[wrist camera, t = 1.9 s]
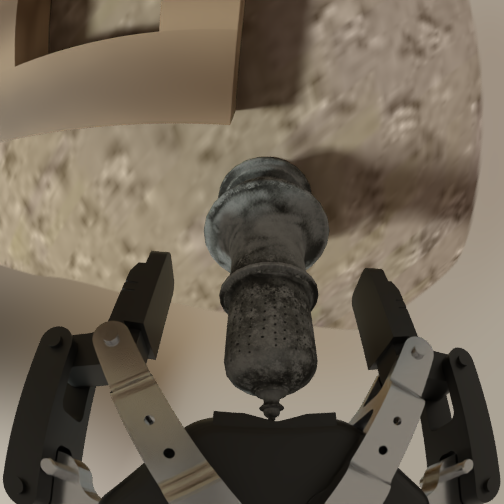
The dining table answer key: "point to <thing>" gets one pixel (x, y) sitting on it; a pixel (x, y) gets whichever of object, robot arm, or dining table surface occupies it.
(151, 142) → the dining table surface
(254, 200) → the grey tall tiered piece
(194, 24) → the tan picture frame
